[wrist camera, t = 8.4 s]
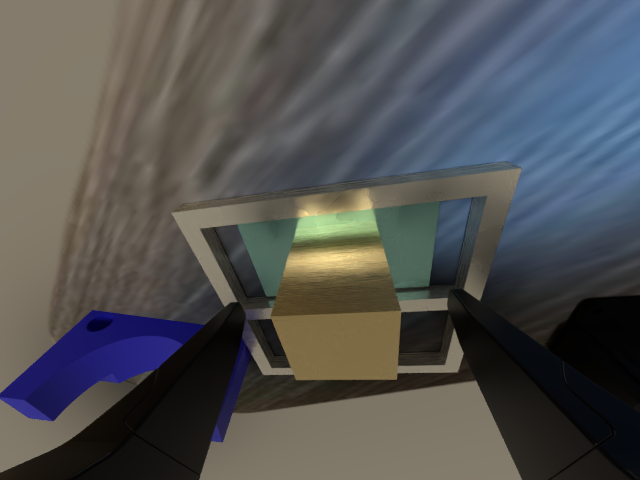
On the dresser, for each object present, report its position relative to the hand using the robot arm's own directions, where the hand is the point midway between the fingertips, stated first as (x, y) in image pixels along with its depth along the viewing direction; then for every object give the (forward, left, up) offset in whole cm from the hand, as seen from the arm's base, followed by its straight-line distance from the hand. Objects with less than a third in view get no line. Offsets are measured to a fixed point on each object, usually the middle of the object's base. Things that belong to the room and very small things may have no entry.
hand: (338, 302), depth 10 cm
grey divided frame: (0, +3, -4) cm, 5 cm away
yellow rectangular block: (0, 0, -3) cm, 3 cm away
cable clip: (+14, +7, -4) cm, 16 cm away
